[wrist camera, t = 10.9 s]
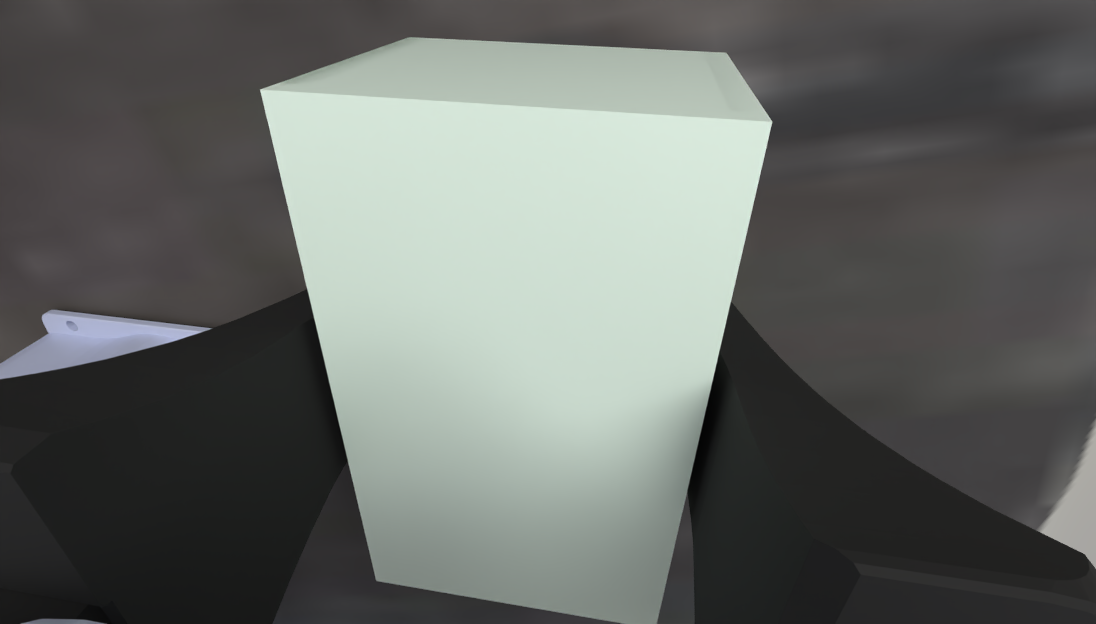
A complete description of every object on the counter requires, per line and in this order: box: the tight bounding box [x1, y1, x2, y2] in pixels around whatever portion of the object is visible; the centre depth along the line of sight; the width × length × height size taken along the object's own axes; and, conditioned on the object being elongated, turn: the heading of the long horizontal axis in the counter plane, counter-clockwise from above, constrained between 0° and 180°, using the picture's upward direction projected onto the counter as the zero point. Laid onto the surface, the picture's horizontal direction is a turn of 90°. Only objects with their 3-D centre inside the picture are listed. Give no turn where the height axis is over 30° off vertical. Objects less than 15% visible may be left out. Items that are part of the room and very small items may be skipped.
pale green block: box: [260, 37, 772, 624], centre depth 11 cm, size 6×10×5 cm, turn 179°
